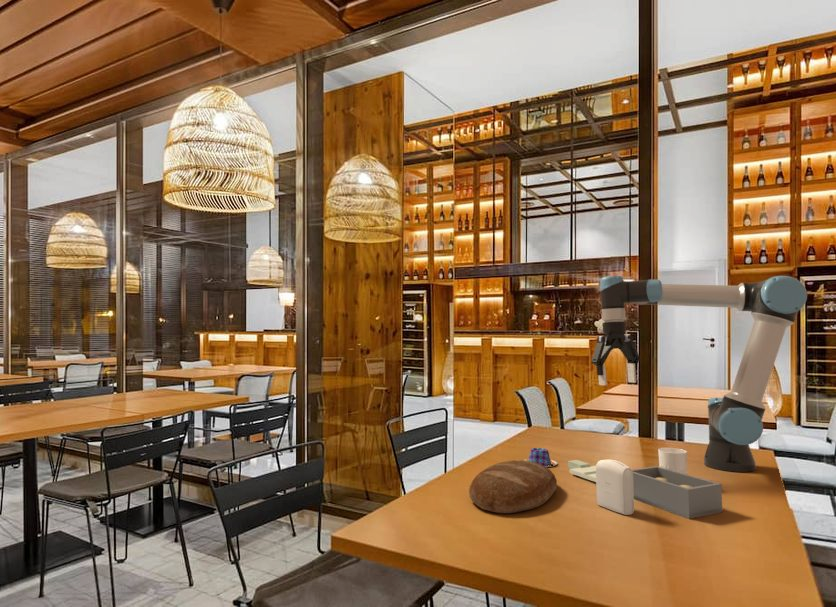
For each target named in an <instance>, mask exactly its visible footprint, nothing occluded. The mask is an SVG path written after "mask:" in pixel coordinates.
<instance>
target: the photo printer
mask: <svg viewBox="0 0 836 607" xmlns="http://www.w3.org/2000/svg"><path fill="white" fill-rule="evenodd" d="M595 466H596V482H595V484H596V486H595V487H596V503H597V505H598V506H599V507H602V508H604V509H608V510H610V511H613V512H616V513H618V514H622V515H624V516H625V515H626V516H630V515H633V514H634V512H635V499H634V489H633V472H632V470H633V469H632V468H631V467H629V466H628V465H627V464H625V463H623V462H621V461H619V460H615V459H610V458H609V459H608V458H607V459H602V460H598V461H597V463H596V465H595Z"/></svg>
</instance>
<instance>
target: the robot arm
mask: <svg viewBox="0 0 836 607" xmlns="http://www.w3.org/2000/svg"><path fill="white" fill-rule="evenodd" d="M599 283H600V284H599V285H600V287H599V288H600V289H599V290H600V293H599V294H600V304H601V318H602V321H603V323H602V332H603V334H604V335H598V336H596V337H597V338H596V339H597V341H596V345H595V349H594V351H593V352H594V353H593V356H592V358H591V361H590V362H591V364H593V365H594V366H596V371H597V372H596V373H597V374H596V375H597V376H598V385H599V386H608V385H607V384H608V383H607V370H606V369H607V368H606V366H607V365H604V364H605V363H606V361H607V359H608V358H609V355H610V354H611V352H612V350H615V349H617V350H619V351H620V352H621V353H622V354H623V356H624V357H625V359H626V360H627V362H628V363H626V366H627V382H628V383H634V384H635V383H637V378H636V377H637V376H636V374H637V373H636V372H637V364H638V363H639V362H640V361H641V357H640V355H639V353H638V350H637V348H636V345H635V343H634V339H633V336H632V334H625V333H626V332H627V322H626V321H625V320H626V319H627V317H626V308H625V306H626V305H625V304H635V305H638V306H644V305H647V306H648V305H651V306H652V305H653V306H679V307H681V306H683V307H706V308H707V307H708V308H731V309H732V308H735V309H737V310H738V311H739V312H750V315H751V316H752V318H753V319H754V321H753V324H752V326H751V330H750V333H749V335H748V340H747V343H746V344H745V348H744V351H743V355H742V358H741V361H740V363H739V366H738V369H737V373H736V376H735V378H734V382H733V385H732V388H731V391H729V392H727V393H725V394H724V395H723V396H722V397H710V398H709V399H708V402H707V409H708V410H707V412H708V445H707V447H706V450H705V453H704V457H703V464H704V465H705V466H706V467H709V468H711V469H715V470H716V469H717V470H720V471H728V472H738V473H739V472H740V473H744V472H754V471H756V470H757V468H756V467H757V466H756V460H755V458H754V455H753V452H752V450H751V447H750V445H751V444H754V443H755V442H756V441H758V440H759V439H760V438H761V436H762V434H763V431H764V423H763V417H764V414H765V411H766V409H767V408H766V406H765V405H764V403H763V399H764V396H765V393H766V390H767V386H768V384H769V380H770V377H771V375H772V371H773V369H774V366H775V363H776V359H777V356H778V353H779V350H780V348H781V344H782V341H783V339H784V335H785V333H786V329H787V328H788V327H790V326H792V325H794V323H795V321H796V318H797V315H798V313H799V311H800V310H802V308H803V307H804V306H805V304H806V302H807V299H808V292H807V289H806V287H805V286H804V284H803V283H802V282H801V281H800V280H799V279H797V278H795V277H793V276H789V275H777V276H776V275H775V276H771V277H769V278H767V279H764V280H760V281H757V282H756V281H755V282H740V283H739V284H738V285H727V284H726V285H725V284H724V285H722V284H721V285H719V284H718V285H717V284H682V283H680V284H679V283H677V284H672V283H671V284H670V283H662V281H661V279H660V280H659V279H650V278H649V279H644V280H643V279H642V280H641V279H640V280H631V281H630V280H629V281H626V280H624V278H623V276H622V275H607V276H604V277H602V278H601V279H600V280H599Z"/></svg>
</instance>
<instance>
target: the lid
mask: <svg viewBox="0 0 836 607" xmlns="http://www.w3.org/2000/svg"><path fill="white" fill-rule="evenodd" d="M567 468H569V474H572V475H575V476H578V477H580V478H582V479H586V480H589V481H592V482H595V483H596V465H591V464H590V463H589V462H586V461H582V460H579V459H574V460H573V459H572V460H568V461H567Z"/></svg>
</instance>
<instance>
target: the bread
mask: <svg viewBox="0 0 836 607" xmlns="http://www.w3.org/2000/svg"><path fill="white" fill-rule="evenodd" d="M557 481H558V480H557V478H556V476H555V474H554V472H553V471H552V470H551V469H550V468H549V467H547V466H543V465H541V464H538V463H535V462H532V461H526V460H525V459H523V460H522V459H521V460H508V461H507V460H506V461H502V462H498V463H496V464H493V465H489V466H488V467H486V468H485V469H483V470H481V472H479V473H478V474H476V476H475V477H474V478H473V480H472V482H471V484H470V485H469V489H468V492H469V493H468V494H469V498H470V501H472V502H473V503H474V504H475V505H476V506H477V507H479V508H480V509H482V510H484V511H486V510H487V511H486V512H490V511H491V513H496V514H497V513H498V514H513V513H520V512H523V511H524V512H525V511H529V510H533V509H536V508H538V507H540V506H542V505H544V504H545V503H547V501H548V500H549V499H550V498H551V497H552V495H553V494H554V492H555V491H556V489H557V486H558V484H557Z"/></svg>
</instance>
